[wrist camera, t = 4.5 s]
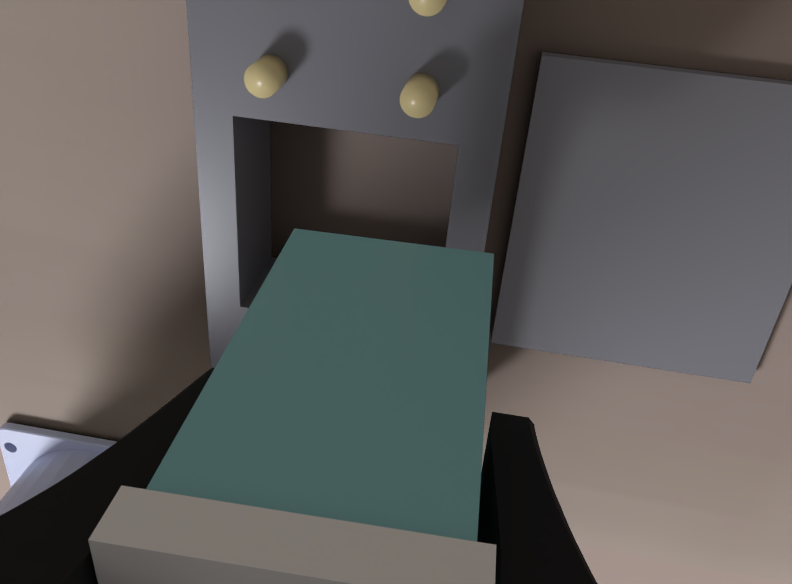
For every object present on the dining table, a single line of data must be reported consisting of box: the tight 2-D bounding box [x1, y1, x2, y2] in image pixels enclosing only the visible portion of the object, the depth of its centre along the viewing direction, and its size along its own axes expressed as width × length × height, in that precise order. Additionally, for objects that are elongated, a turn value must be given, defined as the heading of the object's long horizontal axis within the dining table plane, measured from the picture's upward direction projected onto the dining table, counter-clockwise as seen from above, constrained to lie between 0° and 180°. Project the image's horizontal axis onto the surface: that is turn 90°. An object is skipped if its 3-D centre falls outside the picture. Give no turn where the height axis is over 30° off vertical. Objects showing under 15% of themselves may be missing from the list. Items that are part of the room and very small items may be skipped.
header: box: [186, 0, 524, 368], centre depth 20 cm, size 14×8×4 cm, turn 176°
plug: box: [88, 228, 496, 584], centre depth 12 cm, size 4×4×8 cm
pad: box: [491, 52, 792, 383], centre depth 21 cm, size 9×8×1 cm
